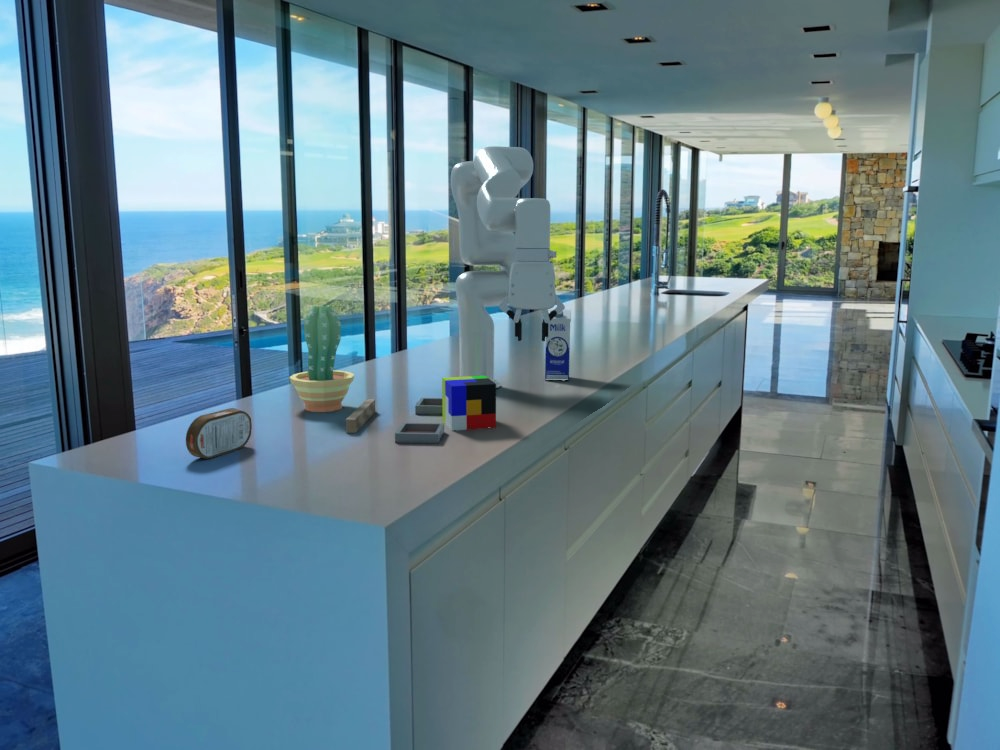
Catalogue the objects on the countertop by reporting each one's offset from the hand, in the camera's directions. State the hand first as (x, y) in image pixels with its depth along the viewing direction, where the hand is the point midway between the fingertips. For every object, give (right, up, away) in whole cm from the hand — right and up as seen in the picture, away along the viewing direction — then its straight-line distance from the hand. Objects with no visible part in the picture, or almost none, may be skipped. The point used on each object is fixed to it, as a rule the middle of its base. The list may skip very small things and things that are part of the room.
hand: (531, 339), depth 179 cm
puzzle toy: (-14, -19, +5) cm, 24 cm away
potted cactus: (-50, -16, +20) cm, 56 cm away
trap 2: (-22, -16, +17) cm, 33 cm away
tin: (-62, -24, -19) cm, 69 cm away
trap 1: (-24, -21, -7) cm, 33 cm away
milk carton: (+10, -9, +56) cm, 58 cm away
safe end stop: (-38, -18, +6) cm, 43 cm away
